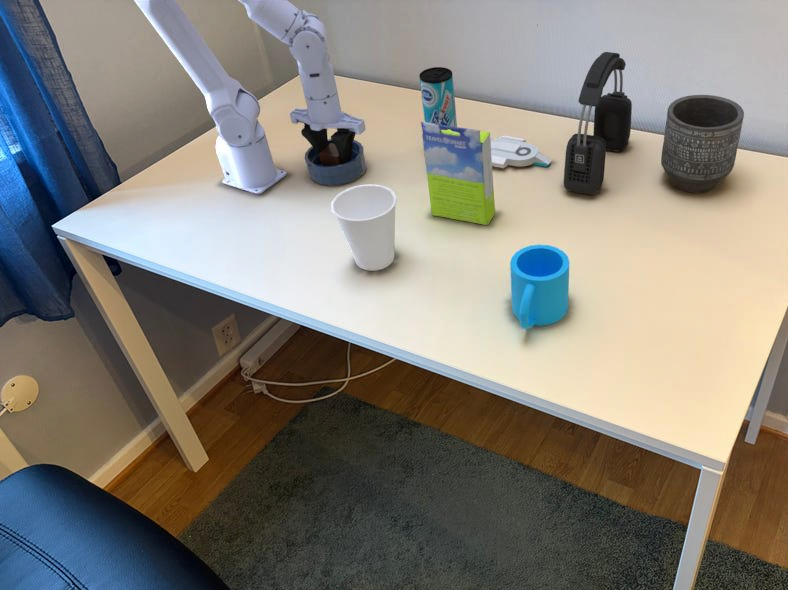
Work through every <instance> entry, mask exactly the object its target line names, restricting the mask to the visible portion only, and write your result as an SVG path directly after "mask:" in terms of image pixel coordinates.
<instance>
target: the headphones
mask: <svg viewBox="0 0 788 590" xmlns="http://www.w3.org/2000/svg"><path fill="white" fill-rule="evenodd" d="M620 56H621V55H620V53H618V52H611V51H604V52H602V53H601V54H600V55H598V57H596V59H595V60H594V61H593V62H592V64H591V65H590V68H589V69H588V71H587V74H586V76H585V79H584V81H583V84H582V87H581V90H580V94H579V97H578V101H577V102H578V103H579V104H580V105H581V106H582V108H581V112H580V117H579V123H578V130H577V133H574V134H573V135H571V137H570V138H569V139H568V140H567V144H566V148H565V157H564V168H563V169H564V170H563V186H564V189H565V190H567V191H570V192H574V193H579V194H584V195H590V196H591V195H595V194H597V193H598V192H599V191H600V190H601V189H602V187H603V183H604V179H605V169H606V168H605V166H606V165H605V164H606V155H607V154H606V152H607V151H611V152H612V151H613V152H622V151H624V150H626V148H627V147H628V144H629V140H630V137H631V131H632V130H631V129H632V111H633V109H632V108H633V104H632V100H631V99H630V98H628V95H626V94H625V92H624V91H623V85H624V84H623V83H624V81H623V78H624V76H623V71H625V69H626V61H625V60H624V58H623V57H620ZM617 71H619V91H618V73H617ZM612 73H613V76H614V77H613V78H614V79H613V81H614V88H613V92H612V93H611V92H608V93H607V94H604V95H603V91H604V88H605V86H606V85H607V82H608V80H609V78H610V76H611V74H612ZM587 106H588V109H587V114H586V118H585V124H584V131H583V133H582V126H583V120H584V116H585V112H586V108H587ZM593 107H594V114H593V115H594V116H593V135H592V134H588V128H589V123H590V117H591V112H592V109H593Z"/></svg>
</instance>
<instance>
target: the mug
mask: <svg viewBox="0 0 788 590" xmlns="http://www.w3.org/2000/svg"><path fill="white" fill-rule="evenodd" d="M509 266H510V288H511V290H510V292H511V293H510V294H511V295H510V296H511V310H512V313H513V315H514V316H515V318H516V319H518V320H519V325H520V327H521V328H522V329H524V330H528V329H531V328H532V327H533V326H538V327H542V326H548V325H552V324H555V323H557V322H559V321H561V320H562V319H563V318H564V317H565V316H566V315H567V313H568V308H569V288H570V259H569V256H568V255H567V254H566V252H565V251H564V250H562V249H560V248H558V247H556V246H553V245H549V244H533V245H528V246H525V247H522V248H520V249H518V250H516V252H515V253H514V254H513V255H512V256H511V259H510V263H509Z"/></svg>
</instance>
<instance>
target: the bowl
mask: <svg viewBox="0 0 788 590" xmlns="http://www.w3.org/2000/svg"><path fill="white" fill-rule="evenodd" d="M330 143H333V144H334V142H333V141H332V139H331V138H328V144H330ZM304 161H305V166H306V169H307V174H308V176H309V178H310V179H311V180H312V181H314V182H315V183H317V184H318V185H322V186H329V187H330V186H331V187H333V186H334V187H336V186H337V187H338V186H342V185H347V184H350V183H352V182H354V181H356V180H357V179H359V178H360V177H362V175H363V174H364V173H365V172H366V170H367V159H366V154H365V148H364V146H363V144H362V143H361V142H359V141H358V140H356V139H354V141H353V146H352V156H351V161H349V162H347V163H345V164H341V165H337V166H322V164H321V160H320V158H319V156H318V155H317V153H316V151H315V150H314V148H313V147H312V146H310V147H309V148H308V149H307V150H306V151H305V153H304Z"/></svg>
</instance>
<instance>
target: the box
mask: <svg viewBox="0 0 788 590" xmlns="http://www.w3.org/2000/svg"><path fill="white" fill-rule="evenodd" d="M420 125H421V129H422V130H421V133H422V134H421V137H422V146H423V153H424V161H425V162H424V163H425V170H426V177H427V178H426V179H427V185H428V195H429V203H430V211H431V215H432V216H434V217H441V218H446V219H452V220H458V221H461V222H462V221H463V222H469V223H474V224H479V225H483V226H488V225H489V224H490V222H491V221H492V219H493V217H494V216H495V214H496V204H495V192H494V190H495V189H494V174H493V166H492V157H491V140H490V139H491V132H490V131H485V130H480V129H473V128H465V127H458V126H457V127H452V126H445V125H439V124H433V123H427V122H425V121H420Z"/></svg>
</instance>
